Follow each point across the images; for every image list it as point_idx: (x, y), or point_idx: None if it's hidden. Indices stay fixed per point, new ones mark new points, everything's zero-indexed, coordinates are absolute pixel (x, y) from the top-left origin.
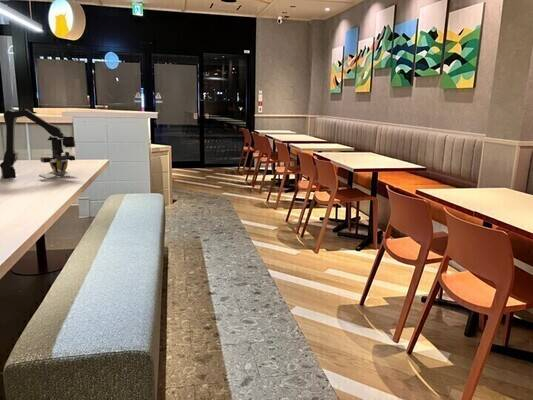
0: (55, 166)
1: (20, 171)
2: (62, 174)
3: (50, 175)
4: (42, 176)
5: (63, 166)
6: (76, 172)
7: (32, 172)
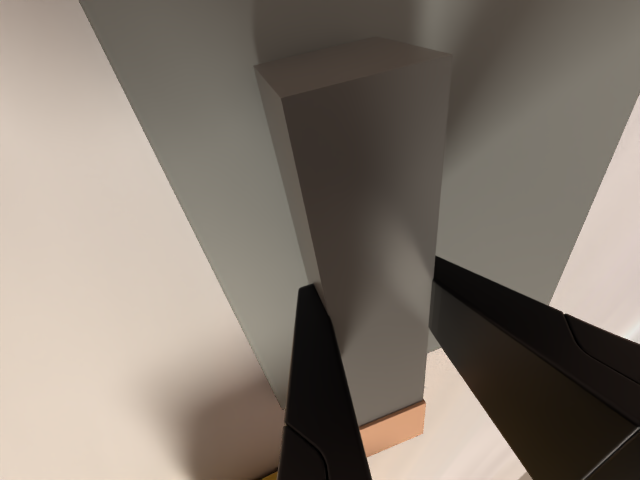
0: (618, 357)
1: (507, 449)
2: (325, 56)
3: (487, 222)
4: (592, 191)
5: (299, 455)
6: (23, 470)
7: (477, 430)
